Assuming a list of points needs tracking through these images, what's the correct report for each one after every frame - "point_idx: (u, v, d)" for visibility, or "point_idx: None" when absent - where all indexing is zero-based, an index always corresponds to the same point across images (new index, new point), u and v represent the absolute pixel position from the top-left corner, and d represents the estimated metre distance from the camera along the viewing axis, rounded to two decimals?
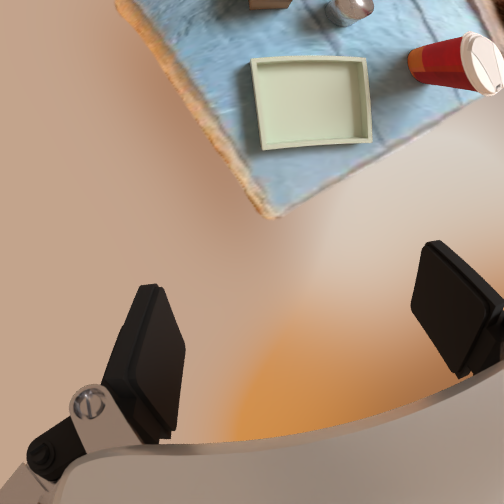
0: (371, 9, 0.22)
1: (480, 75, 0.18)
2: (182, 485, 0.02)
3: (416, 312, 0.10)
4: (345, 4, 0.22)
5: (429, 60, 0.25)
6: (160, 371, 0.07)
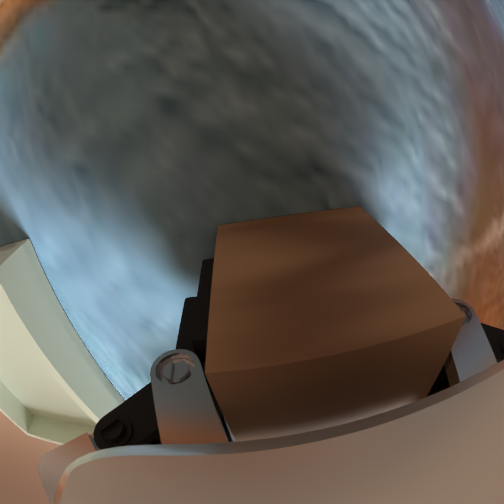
0: None
1: None
2: (182, 485, 0.02)
3: None
4: None
5: None
6: None
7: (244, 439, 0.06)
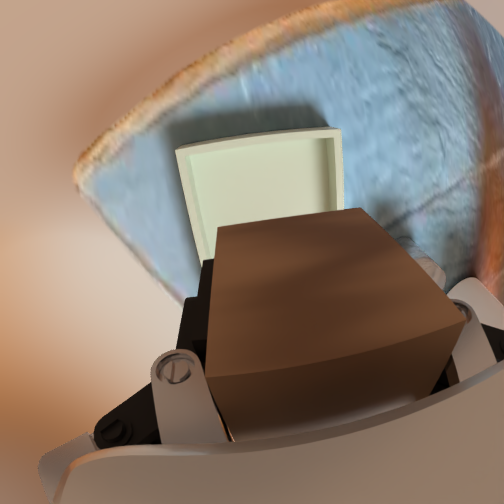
0: None
1: None
2: (182, 485, 0.02)
3: None
4: None
5: None
6: None
7: None
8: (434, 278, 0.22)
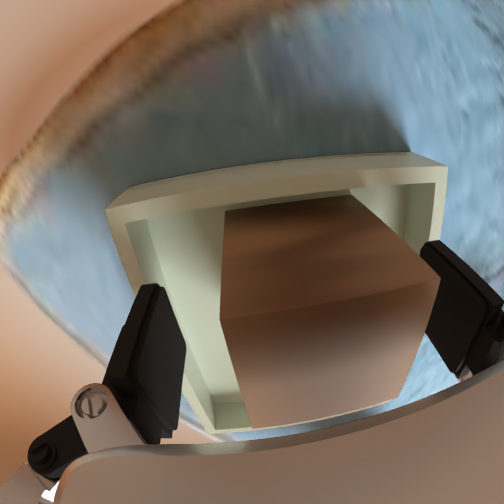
0: None
1: None
2: (182, 485, 0.02)
3: None
4: None
5: None
6: (161, 370, 0.07)
7: (250, 395, 0.07)
8: None
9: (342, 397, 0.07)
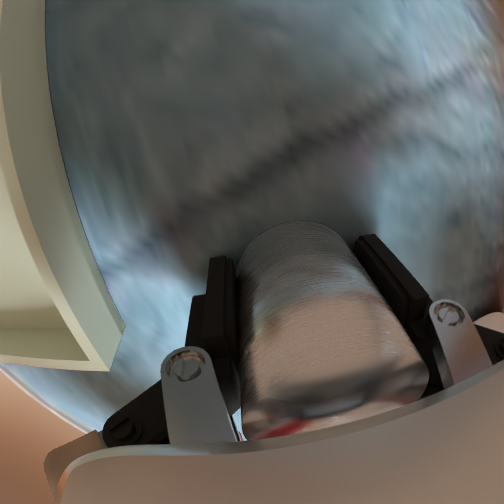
0: None
1: None
2: (182, 485, 0.02)
3: None
4: (315, 385, 0.05)
5: None
6: None
7: None
8: (373, 389, 0.05)
9: None
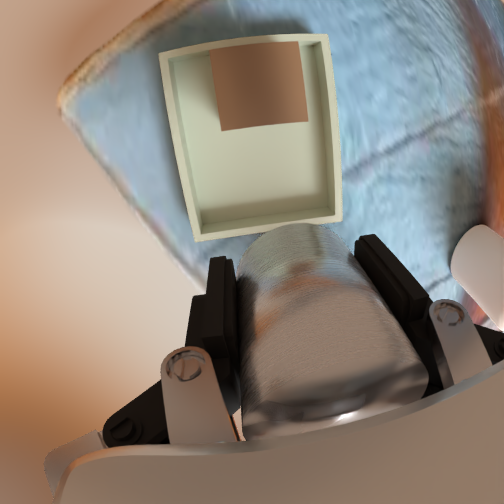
0: None
1: None
2: (182, 485, 0.02)
3: None
4: (316, 389, 0.05)
5: None
6: None
7: (219, 95, 0.14)
8: (372, 392, 0.05)
9: (269, 106, 0.15)
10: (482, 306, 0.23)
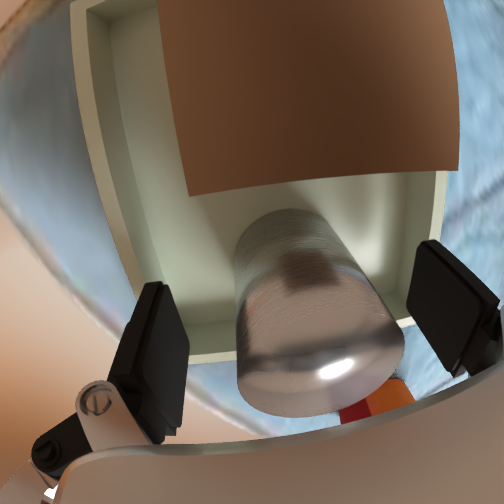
0: (292, 413, 0.08)
1: None
2: (182, 485, 0.02)
3: (411, 311, 0.10)
4: (299, 337, 0.06)
5: None
6: (166, 367, 0.07)
7: (179, 60, 0.03)
8: (351, 346, 0.06)
9: (362, 108, 0.04)
10: None
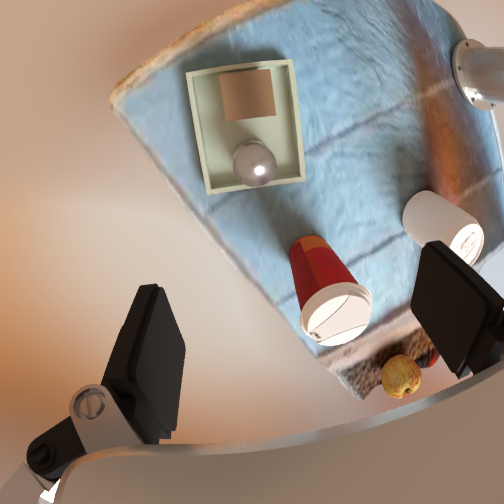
0: (248, 183, 0.30)
1: (323, 308, 0.27)
2: (182, 485, 0.02)
3: (416, 312, 0.10)
4: (246, 151, 0.28)
5: (320, 254, 0.34)
6: (160, 371, 0.07)
7: (225, 101, 0.25)
8: (259, 156, 0.28)
9: (253, 107, 0.26)
10: None
